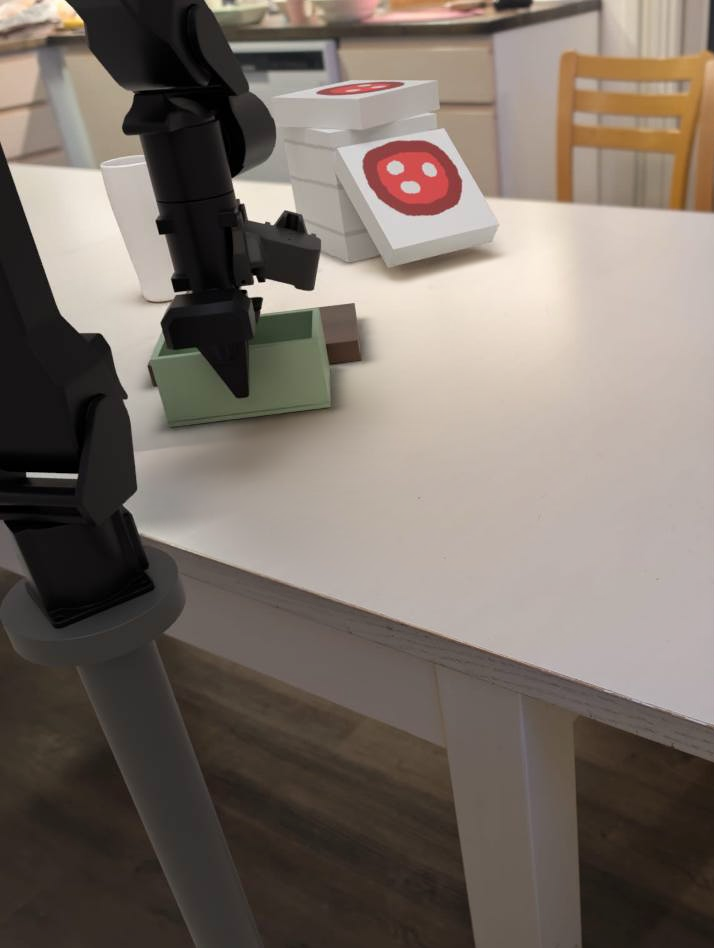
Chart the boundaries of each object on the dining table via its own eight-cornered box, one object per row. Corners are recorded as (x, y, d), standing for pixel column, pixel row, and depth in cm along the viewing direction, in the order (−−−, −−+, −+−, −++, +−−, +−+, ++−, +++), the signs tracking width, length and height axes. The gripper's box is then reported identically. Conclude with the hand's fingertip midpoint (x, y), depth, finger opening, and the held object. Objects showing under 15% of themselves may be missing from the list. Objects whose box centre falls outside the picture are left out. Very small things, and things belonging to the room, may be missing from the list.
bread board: (361, 360, 91) (358, 339, 89) (153, 386, 89) (146, 365, 88) (357, 321, 100) (354, 302, 99) (169, 344, 99) (164, 325, 98)
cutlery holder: (330, 407, 82) (318, 339, 78) (169, 427, 81) (149, 359, 77) (330, 371, 89) (319, 307, 85) (182, 389, 88) (164, 325, 85)
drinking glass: (171, 285, 117) (135, 153, 109) (206, 291, 114) (172, 155, 105) (126, 301, 113) (86, 165, 104) (162, 308, 110) (123, 167, 101)
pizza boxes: (383, 287, 110) (359, 113, 99) (283, 242, 131) (254, 94, 120) (517, 252, 117) (509, 87, 107) (402, 215, 138) (385, 74, 127)
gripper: (301, 208, 62) (340, 428, 71) (306, 162, 77) (338, 348, 86) (131, 227, 61) (193, 447, 70) (170, 176, 76) (216, 363, 86)
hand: (243, 396), depth 78 cm, fingers closed
